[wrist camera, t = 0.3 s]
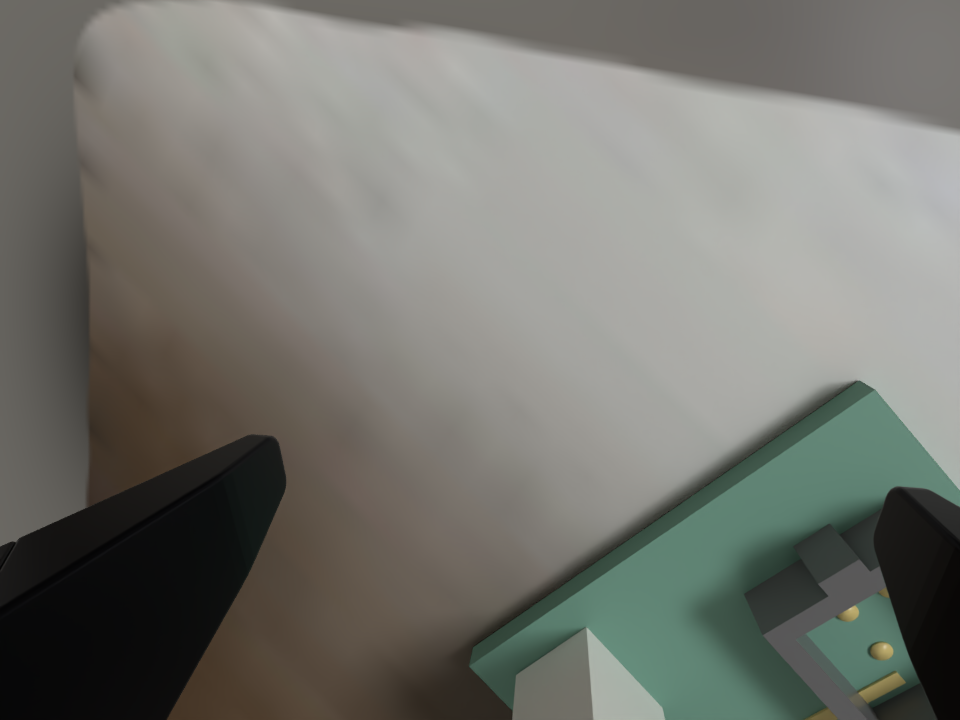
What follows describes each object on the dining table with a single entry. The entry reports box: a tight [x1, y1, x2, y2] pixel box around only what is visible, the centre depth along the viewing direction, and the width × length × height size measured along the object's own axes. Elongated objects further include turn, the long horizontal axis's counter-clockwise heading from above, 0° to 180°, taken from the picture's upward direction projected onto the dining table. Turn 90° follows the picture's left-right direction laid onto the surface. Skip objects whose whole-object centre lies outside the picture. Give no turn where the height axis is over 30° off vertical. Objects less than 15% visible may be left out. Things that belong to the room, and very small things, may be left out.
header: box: [744, 509, 937, 720], centre depth 22 cm, size 7×9×2 cm
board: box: [469, 381, 960, 720], centre depth 25 cm, size 20×12×1 cm, turn 133°
